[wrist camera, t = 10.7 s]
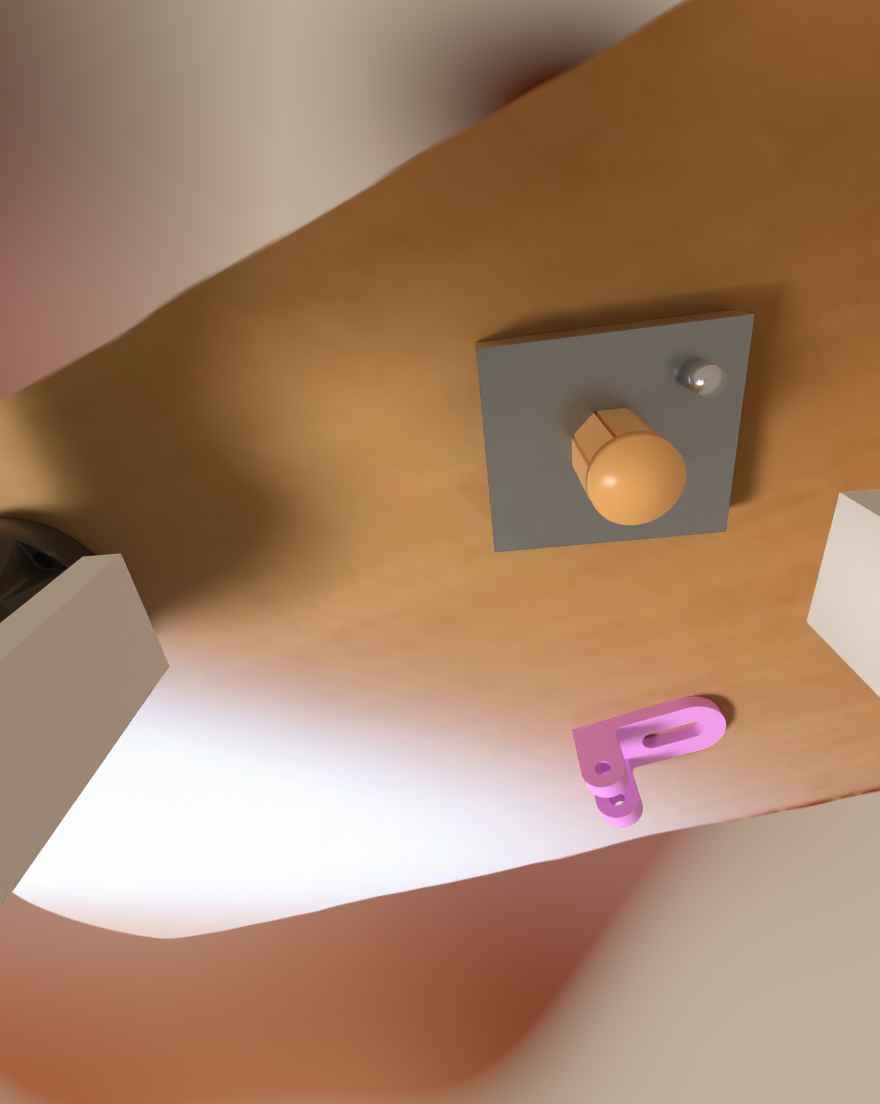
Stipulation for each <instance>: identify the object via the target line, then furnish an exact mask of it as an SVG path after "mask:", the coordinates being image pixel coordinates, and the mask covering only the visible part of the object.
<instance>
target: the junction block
mask: <svg viewBox="0 0 880 1104" xmlns="http://www.w3.org/2000/svg"><path fill="white" fill-rule="evenodd" d="M753 322H754V314H752V313H747V312H743V311H738V310H733V309H732V310H724V311H716V312H708V313H700V314H693V315H685V316H677V317H669V318H661V319H653V320H646V321H638V322H630V323H622V324H614V325H606V326H599V327H591V328H583V329H575V330H567V331H559V332H552V333H544V334H536V335H528V336H520V337H512V338H505V339H497V340H489V341H481V342H476V349H477V360H478V371H479V382H480V393H481V404H482V416H483V427H484V438H485V449H486V460H487V471H488V482H489V493H490V504H491V515H492V526H493V537H494V548H495V552H504V551H515V550H526V549H537V548H548V547H559V546H571V545H582V544H593V543H604V542H615V541H626V540H637V539H649V538H660V537H671V536H682V535H693V534H704V533H716V532H726V527H727V519H728V511H729V504H730V496H731V489H732V481H733V474H734V466H735V458H736V451H737V443H738V436H739V428H740V420H741V413H742V405H743V398H744V390H745V383H746V375H747V367H748V360H749V352H750V345H751V337H752V329H753ZM619 408H628V409H629V410H630V409H631V410H632V411H633V412H635V413H636V414H637V415H638V416H639V417H640V418H641V419H642V420H644V421H645V422H646V423H647V424H648V425H649V426H650V427H651V428H652V429H654V430H655V431H656V432H657V433H658V434H659V435H660V436H662V437H663V438H665V439H666V440H667V441H669V442H670V443H671V444H672V445H673V446H674V447H675V448H676V449H677V450H678V451H679V453H680V454H681V456H682V458H683V460H684V463H685V466H686V482H685V486H684V489H683V491H682V494H681V496H680V497H679V499H678V501H677V502H676V503H675V504H674V506H673V507H672V508H671V509H670V510H669V511H667V512H666V513H665V514H663V515H662V516H660V517H659V518H657V519H655V520H653V521H650V522H648V523H644V524H639V525H622V524H617V523H614V522H612V521H610V520H608V519H606V518H605V517H603V516H602V515H601V514H600V513H599V512H598V511H597V510H596V509H595V507H594V505H593V503H592V501H591V500H590V499H589V498H588V496H587V494H586V492H585V490H584V488H583V486H582V484H581V482H580V480H579V478H578V476H577V474H576V472H575V470H574V467H573V465H572V438H575V437H574V434H575V433H576V431H577V430H578V429H579V428H580V427H581V426H582V425H583V424H584V423H585V422H586V421H587V420H588V418H589V417H590V416H591V415H592V414H593V413H594V414H595V415H597V411H602V410H611V409H619Z"/></svg>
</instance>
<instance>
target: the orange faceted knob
mask: <svg viewBox="0 0 880 1104" xmlns="http://www.w3.org/2000/svg"><path fill="white" fill-rule="evenodd" d="M574 437H575V438H572V465H573V467H574V470H575V472H576V474H577V476H578V478H579V480H580V482H581V484H582V486H583V488H584V490H585V492H586V494H587V496H588V498H589V499H590V500H591V501H592V503H593V505H594V507H595V509H596V510H597V511H598V512H599V513H600V514H601V515H602V516H603V517H605V518H606V519H608V520H610V521H612V522H614V523H617V524H622V525H639V524H644V523H648V522H650V521H653V520H655V519H657V518H659V517H660V516H662V515H663V514H665V513H666V512H667V511H669V510H670V509H671V508H672V507H673V506H674V504H675V503H676V502H677V501H678V499H679V497H680V496H681V494H682V491H683V489H684V486H685V482H686V466H685V463H684V460H683V458H682V456H681V454H680V453H679V451H678V450H677V449H676V448H675V447H674V446H673V445H672V444H671V443H670V442H669V441H667V440H666V439H665V438H663V437H662V436H660V435H659V434H658V433H657V432H656V431H655V430H654V429H652V428H651V427H650V426H649V425H648V424H647V423H646V422H645V421H644V420H642V419H641V418H640V417H639V416H638V415H637V414H636V413H635V412H633V411H632V410H631V409H630V410H629V409H628V408H619V409H611V410H602V411H597V415H595V414H594V413H593V414H592V415H591V416H590V417H589V418H588V420H587V421H586V422H585V423H584V424H583V425H582V426H581V427H580V428H579V429H578V430H577V431H576V433H575V434H574Z"/></svg>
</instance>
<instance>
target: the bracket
mask: <svg viewBox="0 0 880 1104" xmlns="http://www.w3.org/2000/svg"><path fill="white" fill-rule="evenodd" d="M692 722H697V723H696V724H695V725H693V726H689V727H686V728H682V729H678V730H675V731H671V732H668V733H664V734H660V735H657V736H653V737H649V738H646V737H645V736H647V735H649V734H652V733H656V732H659V731H663V730H667V729H670V728H674V727H677V726H681V725H685V724H688V723H692ZM725 730H726V721H725V718H724V717H723V715H722V713H721V711H720V709H719V708H718V706H717V705H716V704H715V703H714V702H713V701H711V700H709V699H707V698H704V697H698V696H691V697H684V698H680V699H677V700H673V701H670V702H666V703H663V704H659V705H656V706H653V707H649V708H646V709H642V710H639V711H635V712H632V713H628V714H625V715H622V716H618V717H615V718H611V719H608V720H604V721H601V722H597V723H594V724H591V725H587V726H584V727H580V728H577V729H573V730H572V732H573V736H574V741H575V746H576V750H577V755H578V759H579V764H580V768H581V773H582V776H583V778H584V780H585V782H586V784H587V786H588V788H589V790H590V791H591V792H592V793H593V794H594V795H595V799H596V803H597V806H598V808H599V810H600V812H601V814H602V816H603V818H604V819H605V821H606V822H607V823H609V824H610V825H612V826H615V827H628V826H631V825H633V824H634V823H636V822H637V821H638V820H639V818H640V817H641V815H642V811H643V805H642V801H641V798H640V795H639V792H638V789H637V785H636V782H635V779H634V776H633V773H632V771H633V769H634V768H635V767H638V766H642V765H646V764H649V763H653V762H657V761H661V760H664V759H668V758H672V757H676V756H680V755H683V754H687V753H691V752H695V751H698V750H702V749H705V748H708V747H710V746H712V745H713V744H715V743H716V742H717V741H718V740H719V739H720V738H721V737H722V736H723V734H724V732H725ZM618 801H624V802H623V803H622V804H621V805H617V806H616V805H615V803H617V802H618Z"/></svg>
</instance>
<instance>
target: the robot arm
mask: <svg viewBox="0 0 880 1104" xmlns="http://www.w3.org/2000/svg"><path fill="white" fill-rule="evenodd" d="M807 623H808V624H809V625H810V626H811V627H812V628H813V629H814V630H815V631H816V632H817V633H818V634H819V635H820V636H821V637H822V638H823V639H824V640H825V641H826V642H827V643H828V644H829V645H830V646H831V647H832V648H833V649H834V650H835V652H836V653H837V654H838V655H839V656H840V657H841V658H842V659H843V660H844V661H845V662H846V663H847V664H848V665H849V666H850V667H851V668H852V669H853V670H854V671H855V672H856V673H857V674H858V675H859V676H860V677H861V678H862V679H863V680H864V681H865V682H866V684H867V685H868V686H869V687H870V688H871V689H872V690H873V691H874V692H875V693H876V694H877V695H878V696H879V697H880V489H874V490H862V491H850V492H840V493H839V497H838V501H837V505H836V509H835V513H834V517H833V521H832V525H831V529H830V533H829V537H828V541H827V544H826V548H825V552H824V556H823V560H822V564H821V568H820V572H819V576H818V580H817V584H816V588H815V592H814V596H813V599H812V603H811V607H810V611H809V615H808V619H807ZM168 667H169V664H168V662H167V660H166V657H165V655H164V653H163V650H162V648H161V646H160V643H159V641H158V639H157V636H156V634H155V632H154V629H153V627H152V625H151V622H150V620H149V618H148V615H147V613H146V611H145V608H144V606H143V604H142V601H141V599H140V597H139V594H138V592H137V590H136V587H135V585H134V583H133V580H132V578H131V576H130V573H129V571H128V569H127V566H126V564H125V562H124V559H123V557H122V555H121V553H120V554H108V555H96V556H94V555H92V554H91V553H90V552H89V551H88V550H87V549H85V548H84V547H83V546H81V545H80V544H79V543H77V542H76V541H74V540H73V539H71V538H69V537H67V536H66V535H64V534H62V533H60V532H58V531H56V530H54V529H51V528H49V527H46V526H44V525H41V524H38V523H35V522H31V521H27V520H22V519H15V518H0V908H1V907H2V905H3V904H4V903H5V901H6V900H7V898H8V897H9V896H10V894H11V893H12V891H13V890H14V888H15V887H16V885H17V884H18V883H19V881H20V880H21V878H22V877H23V875H24V874H25V873H26V871H27V870H28V868H29V867H30V865H31V864H32V863H33V861H34V860H35V858H36V857H37V855H38V854H39V852H40V851H41V850H42V848H43V847H44V845H45V844H46V842H47V841H48V840H49V838H50V837H51V835H52V834H53V832H54V831H55V830H56V828H57V827H58V825H59V824H60V822H61V821H62V819H63V818H64V817H65V815H66V814H67V812H68V811H69V809H70V808H71V807H72V805H73V804H74V802H75V801H76V799H77V798H78V797H79V795H80V794H81V792H82V791H83V789H84V788H85V786H86V785H87V784H88V782H89V781H90V779H91V778H92V776H93V775H94V774H95V772H96V771H97V769H98V768H99V766H100V765H101V764H102V762H103V761H104V759H105V758H106V756H107V755H108V753H109V752H110V751H111V749H112V748H113V746H114V745H115V743H116V742H117V741H118V739H119V738H120V736H121V735H122V733H123V732H124V731H125V729H126V728H127V726H128V725H129V723H130V722H131V720H132V719H133V718H134V716H135V715H136V713H137V712H138V710H139V709H140V708H141V706H142V705H143V703H144V702H145V700H146V699H147V698H148V696H149V695H150V693H151V692H152V690H153V689H154V687H155V686H156V685H157V683H158V682H159V680H160V679H161V677H162V676H163V675H164V673H165V672H166V670H167V669H168Z"/></svg>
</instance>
